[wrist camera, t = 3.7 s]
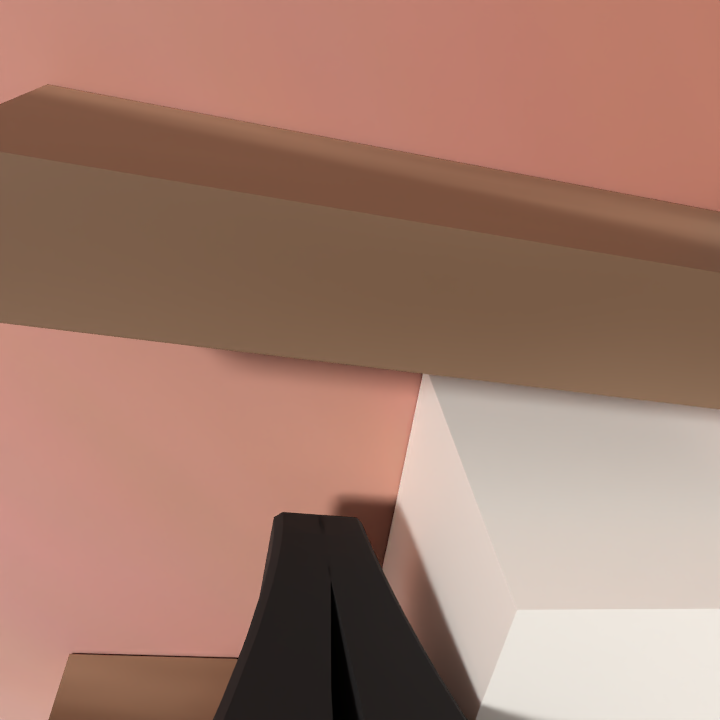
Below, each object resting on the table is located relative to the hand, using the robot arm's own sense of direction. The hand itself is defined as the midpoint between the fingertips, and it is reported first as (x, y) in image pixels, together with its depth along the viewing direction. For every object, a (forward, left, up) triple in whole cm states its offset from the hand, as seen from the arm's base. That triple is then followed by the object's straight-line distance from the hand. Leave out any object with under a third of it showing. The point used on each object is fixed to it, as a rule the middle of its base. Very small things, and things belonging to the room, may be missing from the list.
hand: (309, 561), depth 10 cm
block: (0, -5, -1) cm, 5 cm away
